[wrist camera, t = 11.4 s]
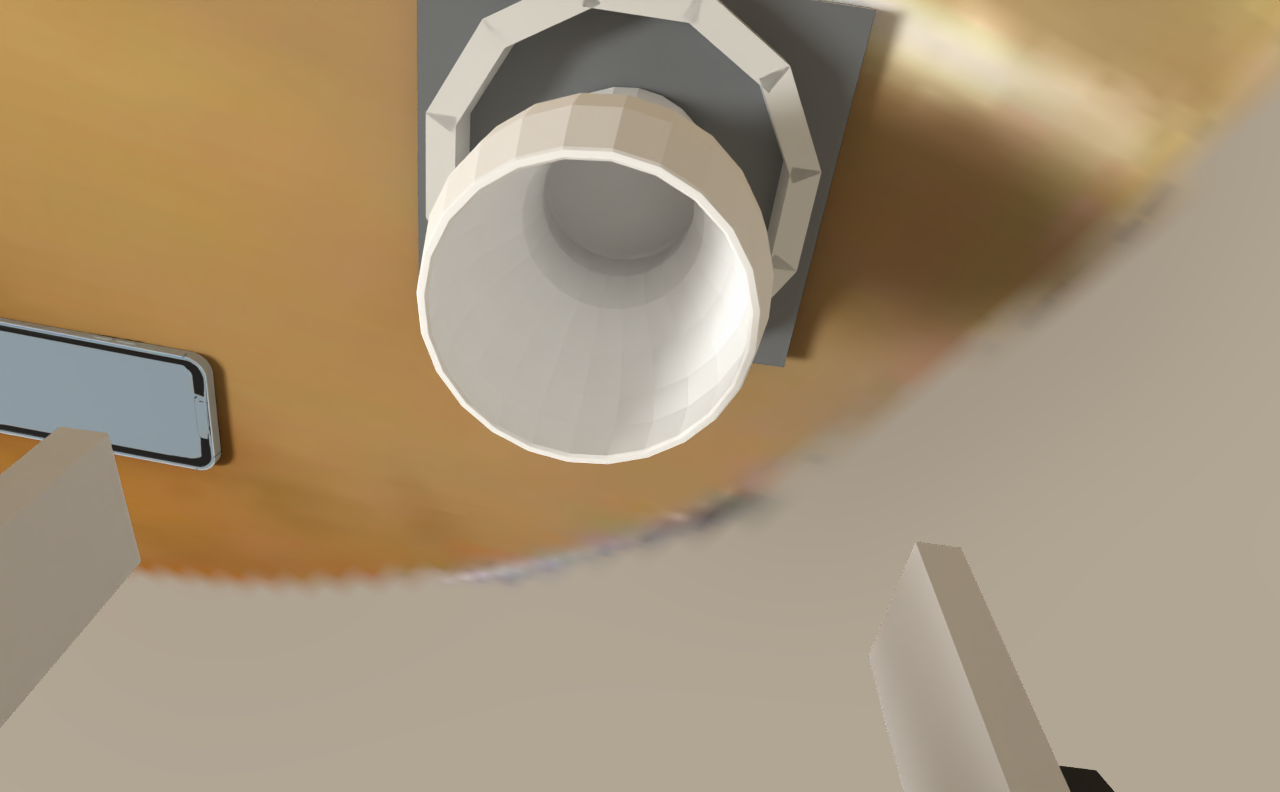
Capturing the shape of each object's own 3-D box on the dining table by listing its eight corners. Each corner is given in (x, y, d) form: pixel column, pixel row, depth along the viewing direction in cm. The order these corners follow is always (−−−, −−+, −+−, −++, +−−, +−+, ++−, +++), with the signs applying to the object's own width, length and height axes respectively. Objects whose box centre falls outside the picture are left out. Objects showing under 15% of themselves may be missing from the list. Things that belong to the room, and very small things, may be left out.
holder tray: (425, -62, 32) (396, -62, 28) (869, 7, 32) (890, 15, 29) (425, 305, 40) (403, 337, 36) (781, 356, 40) (789, 392, 37)
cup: (798, 164, 34) (866, 304, 21) (641, 334, 39) (618, 536, 26) (604, -12, 31) (544, 24, 18) (457, 194, 36) (326, 342, 23)
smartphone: (-86, 304, 41) (204, 359, 41) (-71, 297, 42) (214, 351, 42) (-50, 424, 44) (216, 474, 45) (-36, 415, 45) (225, 464, 46)
